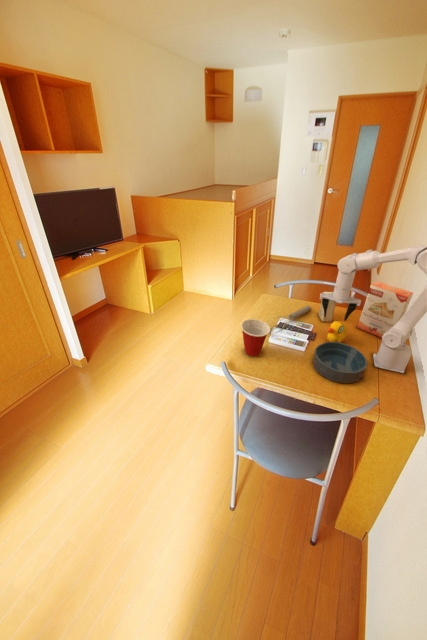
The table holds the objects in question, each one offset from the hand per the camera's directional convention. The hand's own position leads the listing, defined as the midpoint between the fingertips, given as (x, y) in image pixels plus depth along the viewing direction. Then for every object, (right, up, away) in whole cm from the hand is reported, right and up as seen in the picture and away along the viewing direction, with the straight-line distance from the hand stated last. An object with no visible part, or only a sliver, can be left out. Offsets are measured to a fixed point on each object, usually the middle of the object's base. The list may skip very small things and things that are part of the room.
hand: (334, 317), depth 116 cm
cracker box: (+21, -6, +8) cm, 23 cm away
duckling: (0, -10, +2) cm, 10 cm away
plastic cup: (-33, -14, -4) cm, 36 cm away
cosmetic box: (+3, 0, +18) cm, 18 cm away
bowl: (-4, -18, -11) cm, 21 cm away
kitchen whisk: (-14, -2, +15) cm, 21 cm away
